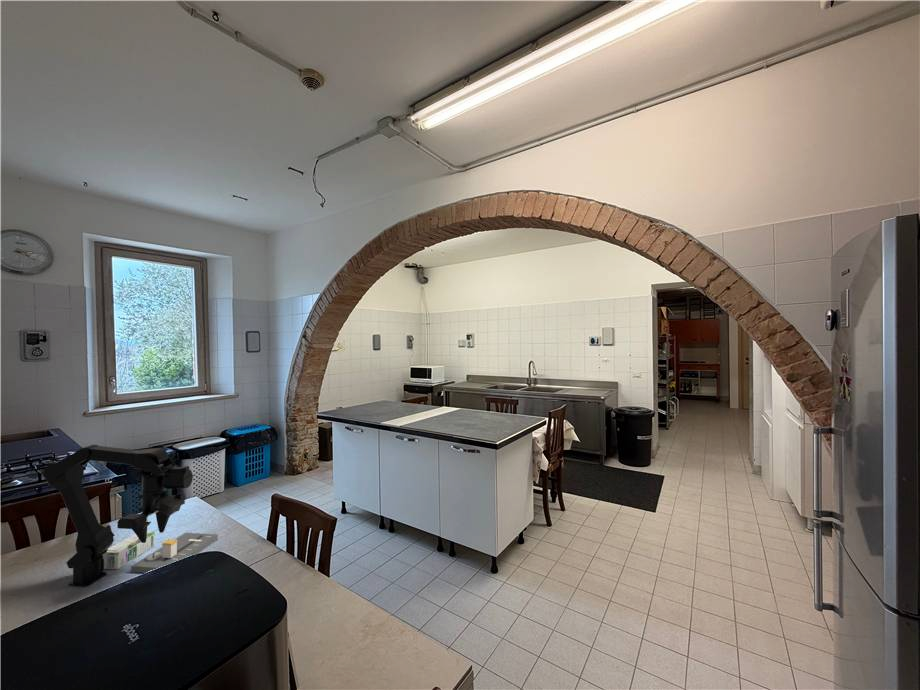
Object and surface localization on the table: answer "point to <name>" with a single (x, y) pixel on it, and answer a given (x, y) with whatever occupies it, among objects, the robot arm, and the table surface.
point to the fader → (169, 548)
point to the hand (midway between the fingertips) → (152, 537)
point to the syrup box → (127, 551)
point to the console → (185, 547)
